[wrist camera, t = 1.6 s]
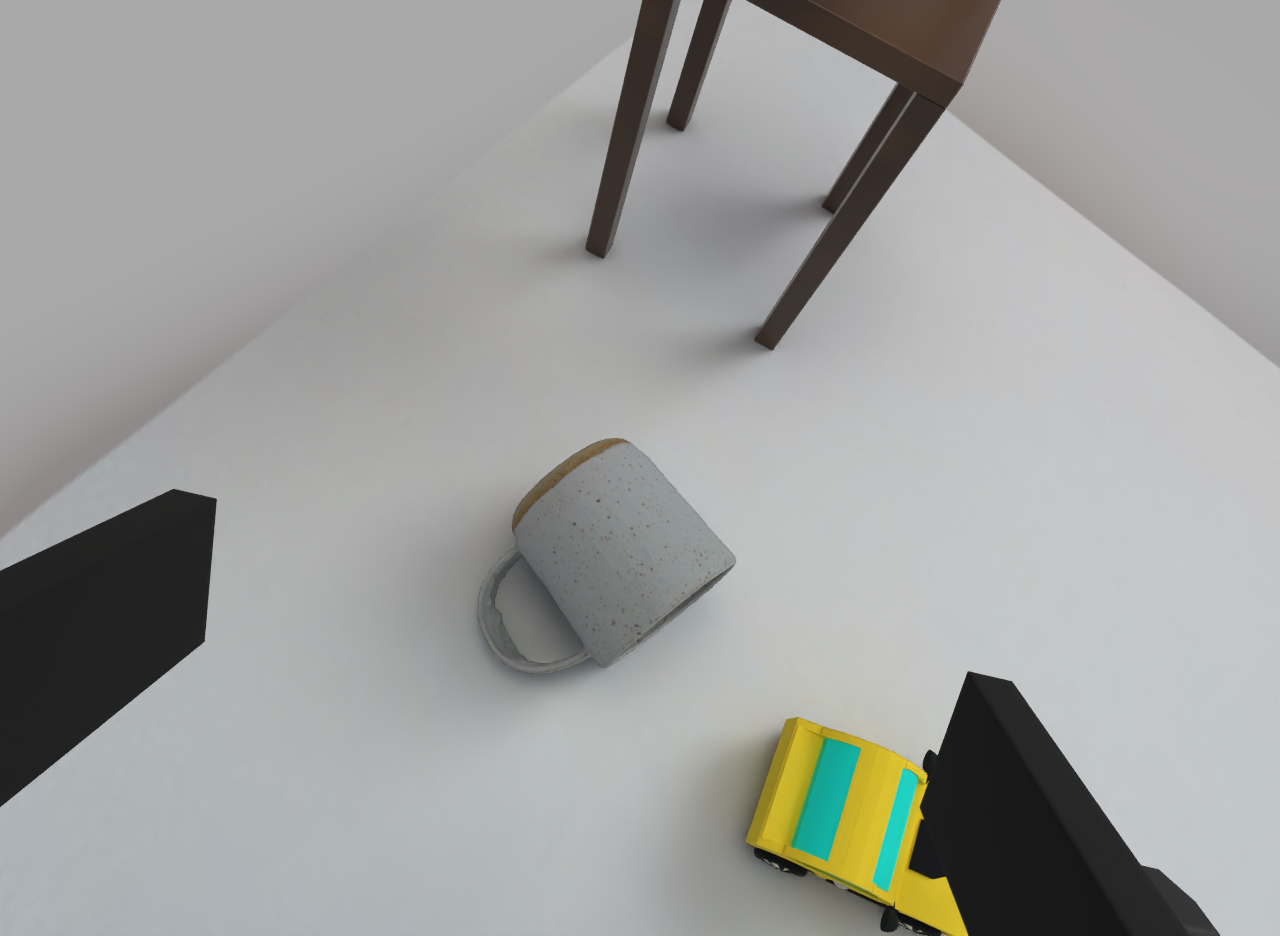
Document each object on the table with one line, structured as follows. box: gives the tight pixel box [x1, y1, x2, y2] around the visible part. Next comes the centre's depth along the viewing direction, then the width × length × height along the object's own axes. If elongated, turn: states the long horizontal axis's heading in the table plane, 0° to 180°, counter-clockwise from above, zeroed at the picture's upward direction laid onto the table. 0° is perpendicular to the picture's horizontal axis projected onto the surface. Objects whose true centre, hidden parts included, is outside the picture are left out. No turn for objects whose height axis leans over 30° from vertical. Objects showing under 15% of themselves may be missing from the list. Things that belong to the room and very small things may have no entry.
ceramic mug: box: [478, 438, 736, 674], centre depth 38 cm, size 11×8×8 cm
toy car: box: [745, 717, 968, 936], centre depth 37 cm, size 12×8×8 cm, turn 67°
